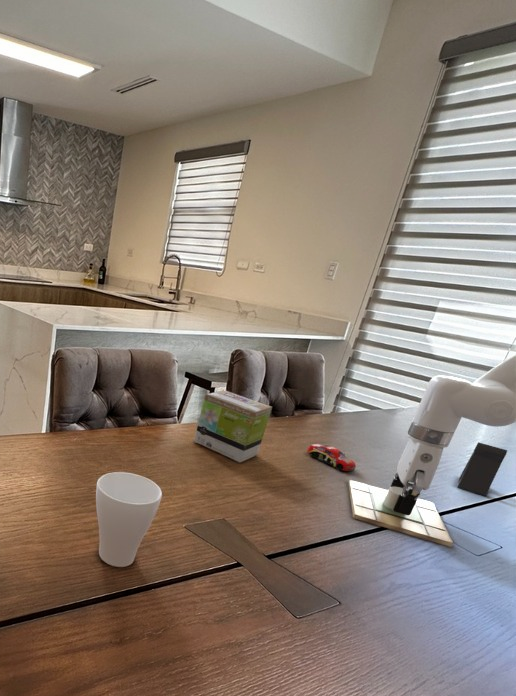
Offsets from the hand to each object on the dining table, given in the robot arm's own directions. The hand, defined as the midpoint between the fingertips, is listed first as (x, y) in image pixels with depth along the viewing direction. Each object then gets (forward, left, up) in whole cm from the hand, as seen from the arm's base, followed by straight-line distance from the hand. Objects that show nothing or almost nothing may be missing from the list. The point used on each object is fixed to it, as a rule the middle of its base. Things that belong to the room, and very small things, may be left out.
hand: (398, 503), depth 107 cm
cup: (+48, +54, -2) cm, 72 cm away
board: (0, 0, -2) cm, 2 cm away
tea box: (+40, -10, -2) cm, 41 cm away
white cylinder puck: (0, 0, -1) cm, 1 cm away
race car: (+13, -22, -2) cm, 26 cm away
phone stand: (-22, -32, -2) cm, 39 cm away
